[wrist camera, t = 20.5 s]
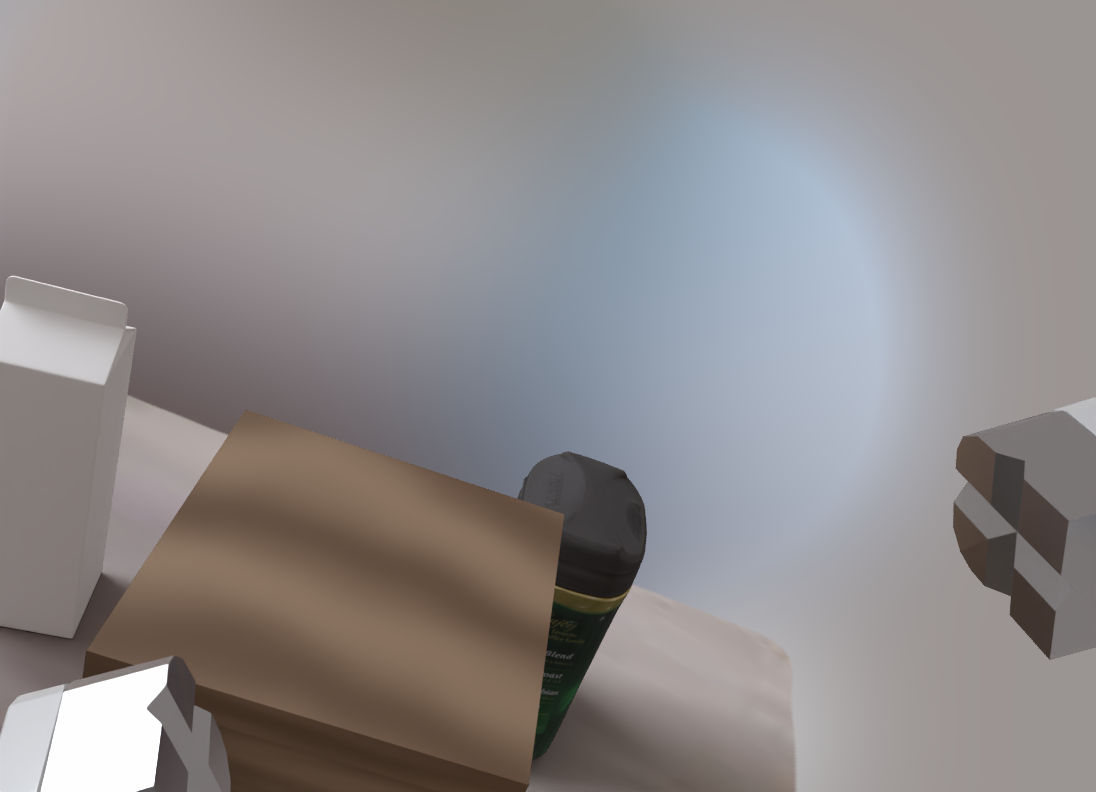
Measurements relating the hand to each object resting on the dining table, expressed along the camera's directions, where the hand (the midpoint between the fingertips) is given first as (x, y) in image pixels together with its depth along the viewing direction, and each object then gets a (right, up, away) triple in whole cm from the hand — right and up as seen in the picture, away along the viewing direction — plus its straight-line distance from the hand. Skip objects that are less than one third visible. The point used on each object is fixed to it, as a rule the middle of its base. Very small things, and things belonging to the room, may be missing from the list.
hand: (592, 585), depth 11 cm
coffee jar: (-4, -19, +59) cm, 62 cm away
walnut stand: (-15, -25, +40) cm, 50 cm away
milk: (-32, -10, +54) cm, 63 cm away
